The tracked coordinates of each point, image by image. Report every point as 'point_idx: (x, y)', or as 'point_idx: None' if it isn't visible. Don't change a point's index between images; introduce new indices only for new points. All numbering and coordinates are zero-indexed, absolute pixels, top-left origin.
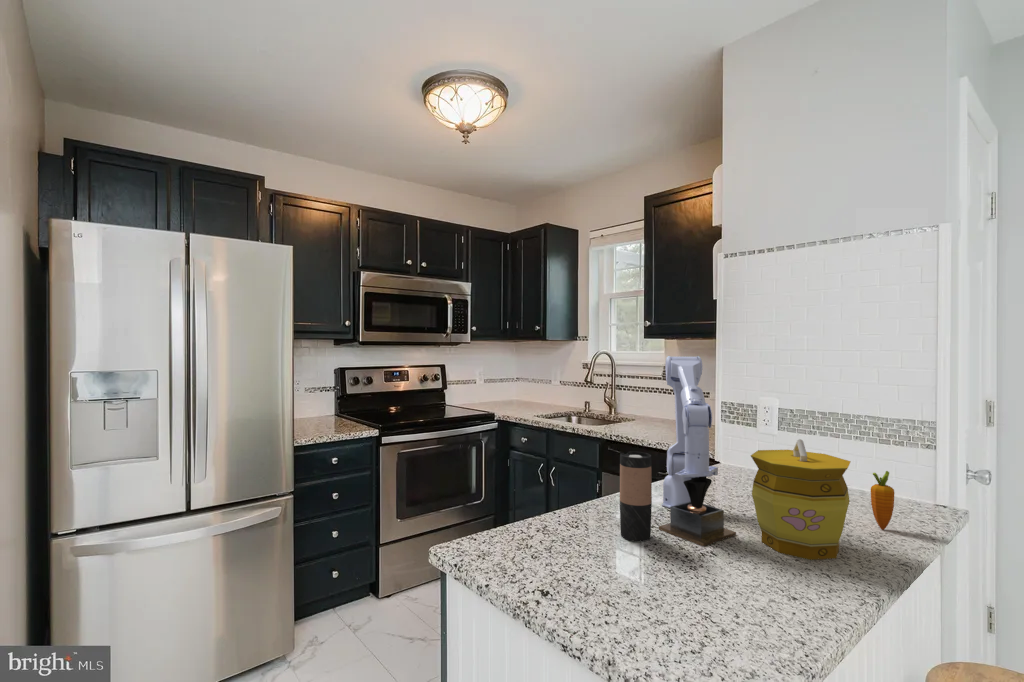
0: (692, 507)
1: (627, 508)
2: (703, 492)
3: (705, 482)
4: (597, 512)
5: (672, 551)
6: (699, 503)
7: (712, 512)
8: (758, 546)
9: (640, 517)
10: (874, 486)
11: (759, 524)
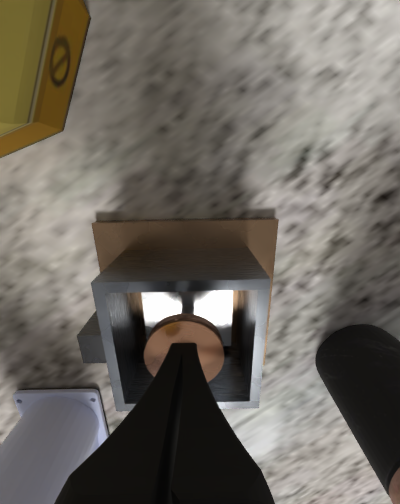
0: (209, 360)
1: None
2: (170, 406)
3: (154, 502)
4: (285, 477)
5: (380, 242)
6: (196, 357)
7: (170, 289)
8: (108, 112)
9: None
10: None
11: (22, 115)
